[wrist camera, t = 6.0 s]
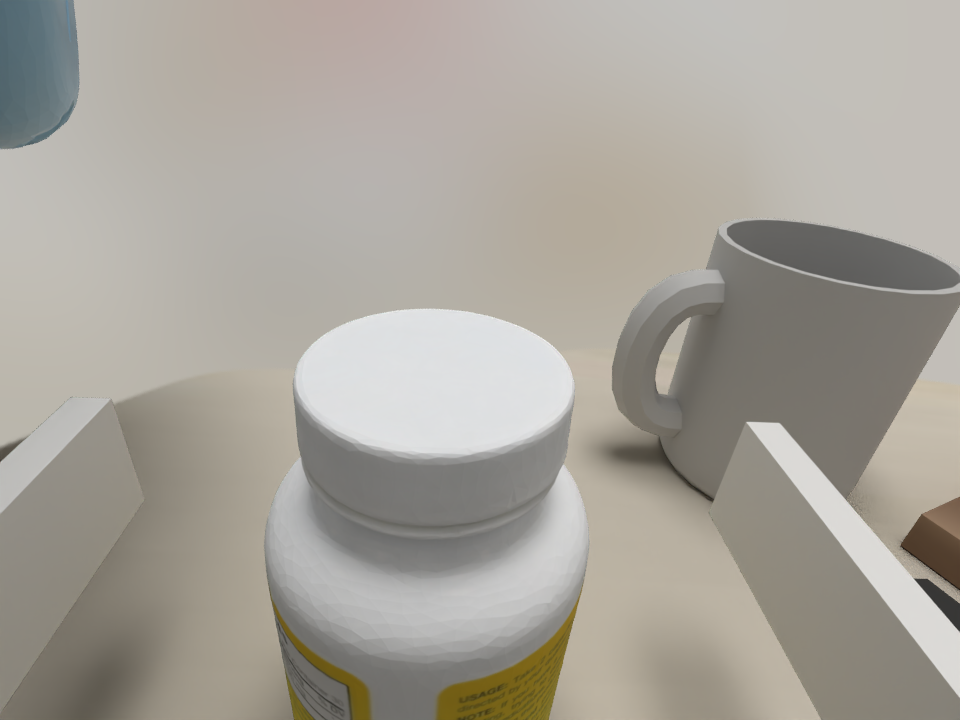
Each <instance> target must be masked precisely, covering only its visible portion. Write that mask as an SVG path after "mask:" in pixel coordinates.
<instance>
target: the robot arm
mask: <svg viewBox="0 0 960 720" xmlns="http://www.w3.org/2000/svg"><path fill="white" fill-rule="evenodd" d="M73 2H74V1H73V0H0V149H14V148H19V147H23V146H26V145H30V144H34V143H38V142H40V141H42V140H44V139H47V137H49V136H50V135H51V134H52V133H54V132H55V131H56V130H57V129H58V128H60V127H61V126H62V125H63V124H64V123H65V122H67V120H68V119H69V117H70V115H71V113H72V111H73V110H74V108H75V105H76V102H77V98H78V91H79V59H78V43H77V30H76V20H75V12H74V3H73ZM144 500H145V499H144V496H143V493H142V490H141V487H140V484H139V480H138V477H137V474H136V471H135V468H134V465H133V462H132V459H131V456H130V453H129V450H128V447H127V444H126V441H125V438H124V435H123V432H122V429H121V426H120V423H119V420H118V417H117V414H116V411H115V408H114V405H113V402H112V399H111V398H110V399H109V398H84V397H82V398H81V397H70V398H69V399H68V400H67V401H66V402H65V403H64V404H63V405H62V406H61V407H59V408H58V409H57V410H56V411H55V412H54V413H53V414H52V415H51V416H50V417H49V418H48V419H46V420H45V421H44V422H43V423H42V424H41V425H40V426H39V427H38V428H37V429H36V430H34V431H33V432H32V433H31V434H30V435H29V436H28V437H27V438H26V439H25V440H24V441H23V442H21V443H20V444H19V445H18V446H17V447H16V448H15V449H14V450H13V451H12V452H11V453H10V454H8V455H7V456H6V457H5V458H4V459H3V460H2V461H1V462H0V713H1V712H2V710H3V709H4V707H5V706H6V704H7V703H8V701H9V700H10V698H11V697H12V695H13V694H14V693H15V691H16V690H17V688H18V687H19V685H20V684H21V682H22V681H23V679H24V678H25V676H26V675H27V673H28V672H29V670H30V669H31V667H32V666H33V664H34V663H35V661H36V660H37V659H38V657H39V656H40V654H41V653H42V651H43V650H44V648H45V647H46V645H47V644H48V642H49V641H50V639H51V638H52V636H53V635H54V633H55V632H56V630H57V629H58V627H59V626H60V624H61V623H62V622H63V620H64V619H65V617H66V616H67V614H68V613H69V611H70V610H71V608H72V607H73V605H74V604H75V602H76V601H77V599H78V598H79V596H80V595H81V593H82V592H83V590H84V589H85V587H86V586H87V585H88V583H89V582H90V580H91V579H92V577H93V576H94V574H95V573H96V571H97V570H98V568H99V567H100V565H101V564H102V562H103V561H104V559H105V558H106V556H107V555H108V553H109V552H110V551H111V549H112V548H113V546H114V545H115V543H116V542H117V540H118V539H119V537H120V536H121V534H122V533H123V531H124V530H125V528H126V527H127V525H128V524H129V522H130V521H131V519H132V518H133V516H134V515H135V514H136V512H137V511H138V509H139V508H140V506H141V505H142V503H143V502H144ZM709 514H710V516H711V518H712V520H713V521H714V523H715V525H716V527H717V529H718V531H719V532H720V534H721V536H722V538H723V540H724V542H725V543H726V545H727V547H728V549H729V551H730V553H731V554H732V556H733V558H734V560H735V562H736V564H737V565H738V567H739V569H740V571H741V573H742V575H743V577H744V578H745V580H746V582H747V584H748V586H749V588H750V589H751V591H752V593H753V595H754V597H755V599H756V600H757V602H758V604H759V606H760V608H761V610H762V611H763V613H764V615H765V617H766V619H767V621H768V622H769V624H770V626H771V628H772V630H773V632H774V633H775V635H776V637H777V639H778V641H779V643H780V644H781V646H782V648H783V650H784V652H785V654H786V655H787V657H788V659H789V661H790V663H791V665H792V666H793V668H794V670H795V672H796V674H797V676H798V677H799V679H800V681H801V683H802V685H803V687H804V688H805V690H806V692H807V694H808V696H809V698H810V700H811V701H812V703H813V705H814V707H815V709H816V711H817V712H818V714H819V716H820V718H821V720H960V604H959V603H958V602H957V601H955V600H954V599H953V598H951V597H950V596H949V595H948V594H946V593H945V592H944V591H942V590H941V589H940V588H938V587H937V586H936V585H934V584H933V583H932V582H931V581H929V580H928V579H913V577H912V576H911V575H910V574H909V573H908V572H907V570H906V569H905V568H904V567H903V566H902V565H901V564H900V562H899V561H898V560H897V559H896V558H895V557H894V555H893V554H892V553H891V552H890V551H889V550H888V548H887V547H886V546H885V545H884V544H883V543H882V541H881V540H880V539H879V538H878V537H877V536H876V534H875V533H874V532H873V531H872V530H871V529H870V527H869V526H868V525H867V524H866V523H865V522H864V521H863V519H862V518H861V517H860V516H859V515H858V514H857V512H856V511H855V510H854V509H853V508H852V507H851V505H850V504H849V503H848V502H847V501H846V500H845V498H844V497H843V496H842V495H841V494H840V493H839V491H838V490H837V489H836V488H835V487H834V486H833V484H832V483H831V482H830V481H829V480H828V479H827V478H826V476H825V475H824V474H823V473H822V472H821V471H820V469H819V468H818V467H817V466H816V465H815V464H814V462H813V461H812V460H811V459H810V458H809V457H808V455H807V454H806V453H805V452H804V451H803V450H802V448H801V447H800V446H799V445H798V444H797V443H796V441H795V440H794V439H793V438H792V437H791V436H790V434H789V433H788V432H787V431H786V430H785V429H784V428H783V426H782V425H781V424H780V423H766V422H746V423H745V425H744V428H743V430H742V433H741V435H740V438H739V440H738V442H737V445H736V447H735V450H734V452H733V455H732V457H731V460H730V462H729V464H728V467H727V469H726V472H725V474H724V477H723V479H722V482H721V484H720V486H719V489H718V491H717V494H716V496H715V499H714V501H713V504H712V506H711V508H710V511H709Z"/></svg>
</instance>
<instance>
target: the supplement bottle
mask: <svg viewBox="0 0 960 720" xmlns="http://www.w3.org/2000/svg"><path fill="white" fill-rule="evenodd" d="M293 394H294V403H295V415H296V427H297V437H298V446H299V450H300V455H301V457H300V458H299V459H298V460H297V461H296V462H295V463H294V465H293V466H292V467H291V469H290V470H289V472H288V473H287V475H286V476H285V477H284V479H283V481H282V483H281V485H280V486H279V488H278V490H277V492H276V495H275V497H274V500H273V502H272V505H271V509H270V512H269V516H268V520H267V524H266V530H265V542H264V549H265V561H266V571H267V579H268V585H269V591H270V596H271V601H272V606H273V610H274V615H275V621H276V627H277V630H278V636H279V642H280V646H281V652H282V658H283V663H284V667H285V673H286V679H287V684H288V689H289V695H290V700H291V705H292V710H293V716H294V720H549V715H550V711H551V707H552V703H553V699H554V695H555V691H556V687H557V683H558V679H559V675H560V671H561V668H562V664H563V659H564V655H565V651H566V648H567V644H568V639H569V636H570V632H571V628H572V625H573V621H574V618H575V614H576V610H577V606H578V602H579V599H580V595H581V591H582V588H583V583H584V577H585V571H586V565H587V560H588V552H589V527H588V522H587V516H586V511H585V508H584V504H583V501H582V497H581V495H580V492H579V490H578V487H577V485H576V483H575V481H574V479H573V477H572V476H571V474H570V473H569V471H568V470H567V468H566V467H565V465H564V464H563V463H564V460H565V458H566V453H567V448H568V436H569V431H570V423H571V417H572V411H573V405H574V397H575V384H574V379H573V375H572V372H571V369H570V367H569V366H568V364H567V362H566V361H565V359H564V358H563V356H562V355H561V354H560V353H559V352H558V351H557V350H556V349H555V348H554V347H553V346H552V345H551V344H549V343H548V342H547V341H545V340H544V339H542V338H541V337H539V336H538V335H536V334H534V333H532V332H530V331H528V330H526V329H524V328H522V327H520V326H518V325H515V324H512V323H509V322H507V321H504V320H500V319H497V318H494V317H490V316H486V315H481V314H477V313H471V312H465V311H457V310H446V309H408V310H399V311H390V312H385V313H380V314H375V315H370V316H366V317H363V318H360V319H356V320H354V321H350V322H348V323H346V324H343V325H341V326H339V327H337V328H335V329H333V330H331V331H329V332H328V333H327V334H325V335H323V336H322V337H320V338H319V339H318V340H317V341H315V342H314V343H313V344H312V345H311V346H310V347H309V348H308V349H307V351H306V352H305V353H304V354H303V356H302V357H301V359H300V360H299V362H298V364H297V367H296V370H295V374H294V379H293Z"/></svg>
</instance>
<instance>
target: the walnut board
mask: <svg viewBox="0 0 960 720" xmlns="http://www.w3.org/2000/svg"><path fill="white" fill-rule="evenodd" d="M901 546H902V547H903V548H905V549H906V550H907V551H909V552H910V553H912V554H913V555H914V556H916V557H917V558H918V559H920V560H921V561H922V562H924V563H925V564H926V565H928V566H929V567H930V568H932V569H933V570H935V571H936V572H937V573H939V574H940V575H941V576H943V577H944V578H945V579H947V580H948V581H949V582H951V583H952V584H953V585H955V586H956V587H957V588H959V589H960V497H958V498H956V499H954V500H952V501H950V502H947V503H945V504H943V505H941V506H939V507H936V508H934V509H932V510H930V511H928V512H925V513H923V514H922V515H921V516H920V517H919V519H918V520H917V522H916V523H915V525H914V526H913V528H912V529H911V530H910V532H909V533H908V535H907V536H906V538H905V539H904V541H903V542H902V544H901Z"/></svg>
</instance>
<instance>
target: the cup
mask: <svg viewBox="0 0 960 720" xmlns="http://www.w3.org/2000/svg"><path fill="white" fill-rule="evenodd" d="M959 306H960V268H959V267H958V266H956V265H954V264H952V263H950V262H948V261H946V260H944V259H942V258H940V257H938V256H936V255H933V254H931V253H928V252H925V251H923V250H921V249H918V248H915V247H912V246H909V245H906V244H903V243H900V242H897V241H894V240H890V239H887V238H883V237H879V236H875V235H871V234H867V233H864V232H860V231H855V230H850V229H845V228H840V227H835V226H831V225H824V224H818V223H811V222H805V221H796V220H786V219H774V218H773V219H772V218H747V219H737V220H732V221H728V222H725V223H724V224H722V225H721V226H720V227H719V228H718V231H717V235H716V238H715V241H714V245H713V248H712V251H711V254H710V258H709V261H708V264H707V267H706V270H690V271H686V272H683V273H679V274H675V275H671V276H669V277H667V278H666V279H664V280H663V281H661V282H660V283H658V284H657V285H656V286H654V287H652V288H651V289H649V290H648V291H647V292H646V294H645V295H644V296H643V298H642V299H641V300H640V301H639V303H638V304H637V305H636V306H635V308H634V309H633V310H632V312H631V314H630V316H629V318H628V320H627V322H626V324H625V326H624V329H623V331H622V333H621V335H620V338H619V341H618V345H617V349H616V353H615V357H614V362H613V366H612V391H613V394H614V397H615V400H616V403H617V406H618V409H619V410H620V411H621V413H622V414H623V415H624V416H625V417H626V418H627V419H628V420H629V421H630V422H631V423H632V424H633V425H635V426H637V427H638V428H640V429H642V430H645V431H647V432H650V433H653V434H655V435H658V436H660V439H661V443H662V446H663V449H664V451H665V454H666V456H667V457H668V459H669V460H670V462H671V463H672V465H673V466H674V468H675V469H676V471H678V472H679V473H680V474H681V475H682V476H683V477H684V478H685V479H686V480H687V481H688V482H689V483H690V484H691V485H692V486H694V487H696V488H697V489H699V490H700V491H702V492H703V493H705V494H706V495H708V496H709V497H711V498H712V499H715V496H716V494H717V491H718V489H719V486H720V484H721V482H722V479H723V477H724V474H725V472H726V469H727V467H728V464H729V462H730V460H731V457H732V455H733V452H734V450H735V447H736V445H737V442H738V440H739V438H740V435H741V433H742V430H743V428H744V425H745V423H746V422H766V423H780V424H781V425H782V426H783V428H784V429H785V430H786V431H787V432H788V433H789V434H790V436H791V437H792V438H793V439H794V440H795V441H796V443H797V444H798V445H799V446H800V447H801V448H802V450H803V451H804V452H805V453H806V454H807V455H808V457H809V458H810V459H811V460H812V461H813V462H814V464H815V465H816V466H817V467H818V468H819V469H820V471H821V472H822V473H823V474H824V475H825V476H826V478H827V479H828V480H829V481H830V482H831V483H832V484H833V486H834V487H835V488H836V489H837V490H838V491H839V493H840V494H841V495H842V496H843V497H844V498H845V499H846V498H847V496H848V495H849V494H850V492H851V491H852V490H853V488H854V487H855V485H856V484H857V482H858V480H859V478H860V477H861V475H862V473H863V472H864V470H865V468H866V466H867V465H868V463H869V461H870V459H871V458H872V456H873V454H874V453H875V451H876V449H877V447H878V446H879V444H880V442H881V441H882V439H883V437H884V435H885V434H886V432H887V430H888V428H889V427H890V425H891V423H892V422H893V420H894V418H895V416H896V415H897V413H898V411H899V410H900V408H901V406H902V404H903V403H904V401H905V399H906V397H907V396H908V394H909V392H910V391H911V389H912V387H913V385H914V384H915V382H916V380H917V379H918V377H919V375H920V373H921V372H922V370H923V368H924V366H925V365H926V363H927V361H928V360H929V358H930V356H931V354H932V353H933V351H934V349H935V347H936V346H937V344H938V342H939V340H940V339H941V337H942V335H943V334H944V332H945V330H946V328H947V327H948V325H949V323H950V322H951V320H952V318H953V316H954V315H955V313H956V311H957V310H958V308H959ZM689 317H691V320H690V323H689V326H688V329H687V333H686V336H685V339H684V343H683V346H682V350H681V352H680V356H679V359H678V362H677V365H676V369H675V372H674V375H673V379H672V382H671V385H670V388H669V392H668V395H663V394H658V391H657V389H656V382H655V375H656V368H657V364H658V361H659V357H660V354H661V352H662V350H663V348H664V346H665V344H666V342H667V340H668V338H669V337H670V335H671V334H672V333H673V332H674V330H675V329H676V328H677V326H678V325H679V324H681V323H682V322H683V321H684V320H686V319H687V318H689Z"/></svg>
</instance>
